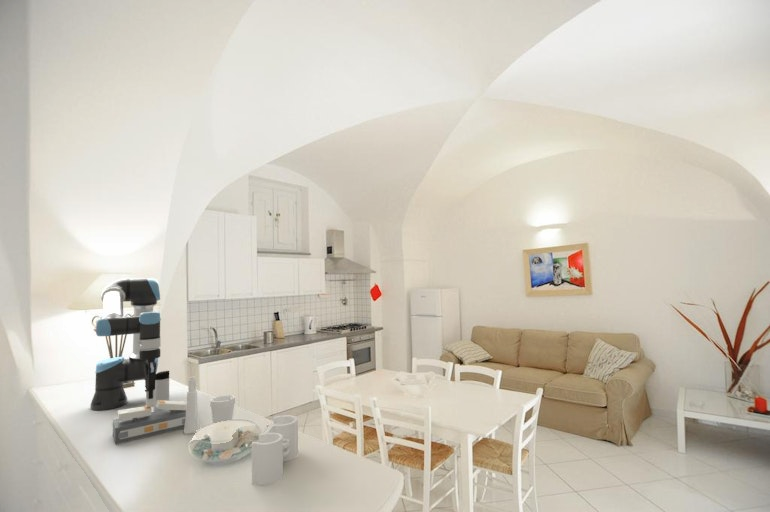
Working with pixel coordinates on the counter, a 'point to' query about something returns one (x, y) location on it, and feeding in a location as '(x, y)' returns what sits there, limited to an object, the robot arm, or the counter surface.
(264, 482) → the pair of white mugs
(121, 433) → the switch unit
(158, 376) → the travel mug
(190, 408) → the cosmetic bottle
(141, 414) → the rocker
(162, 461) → the counter surface
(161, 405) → the plate
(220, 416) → the foam cup
